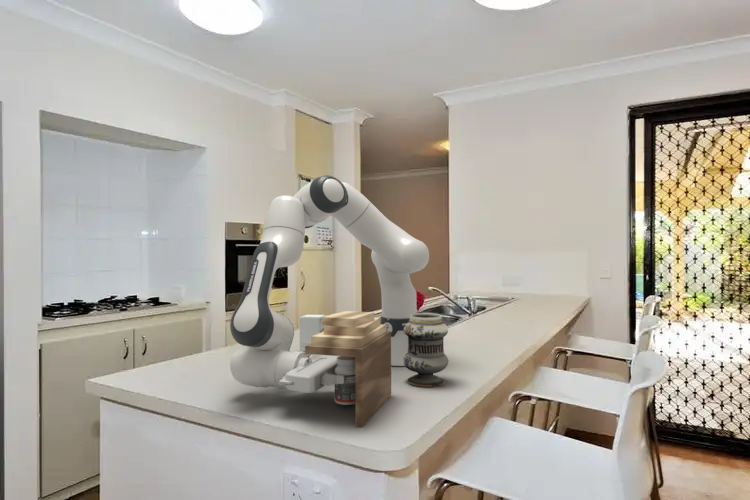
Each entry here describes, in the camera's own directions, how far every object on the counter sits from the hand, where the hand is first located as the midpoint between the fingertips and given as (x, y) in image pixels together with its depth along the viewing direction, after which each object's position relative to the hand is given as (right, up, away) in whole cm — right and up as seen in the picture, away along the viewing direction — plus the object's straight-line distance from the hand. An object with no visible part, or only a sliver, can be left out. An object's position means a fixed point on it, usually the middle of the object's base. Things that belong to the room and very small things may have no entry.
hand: (350, 375), depth 109 cm
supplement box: (-16, -7, +59) cm, 61 cm away
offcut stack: (0, +8, 0) cm, 8 cm away
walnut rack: (0, -7, 0) cm, 7 cm away
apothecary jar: (+19, -7, +20) cm, 28 cm away
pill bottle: (-1, -6, 0) cm, 6 cm away
